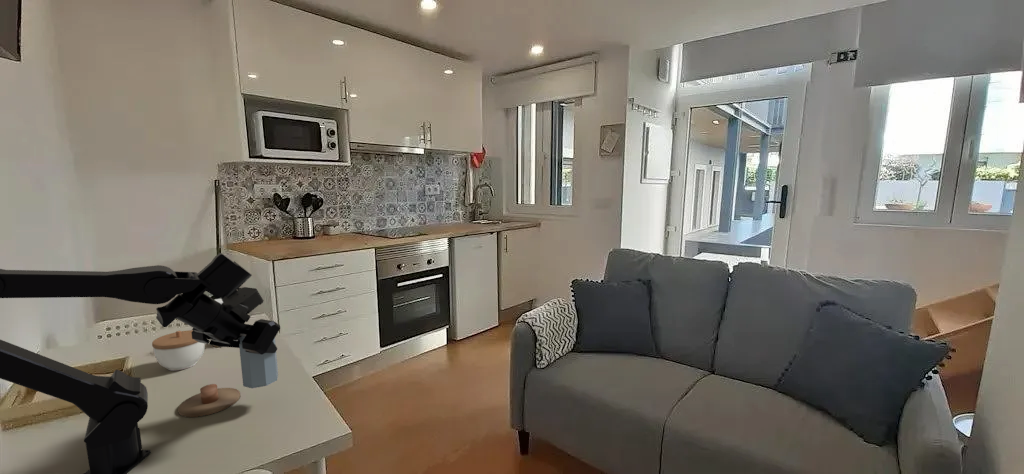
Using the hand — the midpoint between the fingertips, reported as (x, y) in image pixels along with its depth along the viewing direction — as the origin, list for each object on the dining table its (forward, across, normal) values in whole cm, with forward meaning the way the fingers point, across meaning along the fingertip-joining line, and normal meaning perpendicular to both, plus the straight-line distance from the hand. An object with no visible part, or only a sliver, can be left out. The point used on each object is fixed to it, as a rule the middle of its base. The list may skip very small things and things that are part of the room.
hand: (264, 348), depth 90 cm
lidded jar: (+13, +37, +5) cm, 40 cm away
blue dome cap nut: (+4, 0, +6) cm, 7 cm away
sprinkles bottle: (+22, +42, -4) cm, 47 cm away
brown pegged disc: (+5, +12, +12) cm, 18 cm away
